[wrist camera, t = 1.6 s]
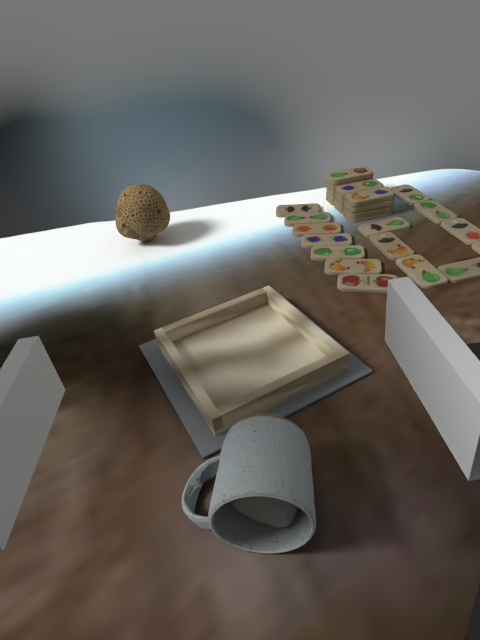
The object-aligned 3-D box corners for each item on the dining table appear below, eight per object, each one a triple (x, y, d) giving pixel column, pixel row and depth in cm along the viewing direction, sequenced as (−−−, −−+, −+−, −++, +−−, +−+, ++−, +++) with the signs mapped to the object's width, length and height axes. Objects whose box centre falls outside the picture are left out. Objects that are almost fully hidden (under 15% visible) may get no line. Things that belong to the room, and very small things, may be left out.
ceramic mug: (310, 460, 39) (308, 401, 34) (317, 556, 32) (315, 499, 28) (193, 462, 40) (176, 405, 35) (177, 554, 34) (154, 499, 29)
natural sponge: (185, 233, 78) (175, 178, 72) (153, 256, 72) (139, 198, 66) (147, 225, 82) (134, 173, 76) (114, 247, 76) (97, 192, 70)
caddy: (158, 345, 53) (153, 330, 52) (269, 300, 58) (268, 285, 57) (215, 436, 41) (211, 419, 40) (348, 369, 47) (349, 353, 45)
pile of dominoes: (270, 211, 83) (269, 183, 80) (400, 186, 87) (404, 158, 84) (348, 312, 56) (351, 276, 53) (534, 270, 60) (547, 233, 56)
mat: (139, 347, 54) (138, 345, 53) (276, 292, 60) (276, 290, 60) (203, 459, 40) (202, 457, 40) (372, 372, 46) (372, 370, 46)
